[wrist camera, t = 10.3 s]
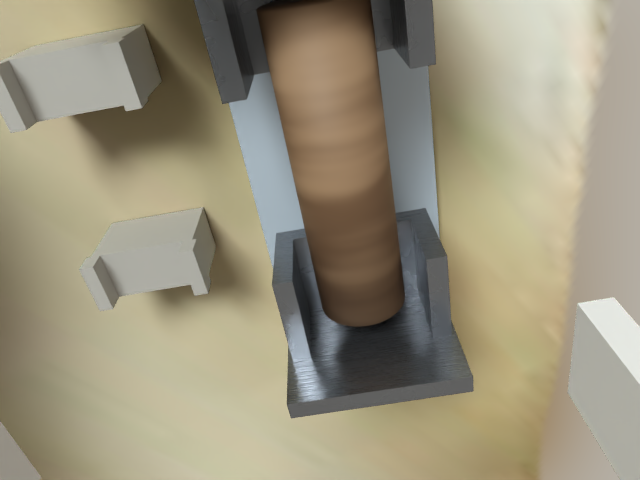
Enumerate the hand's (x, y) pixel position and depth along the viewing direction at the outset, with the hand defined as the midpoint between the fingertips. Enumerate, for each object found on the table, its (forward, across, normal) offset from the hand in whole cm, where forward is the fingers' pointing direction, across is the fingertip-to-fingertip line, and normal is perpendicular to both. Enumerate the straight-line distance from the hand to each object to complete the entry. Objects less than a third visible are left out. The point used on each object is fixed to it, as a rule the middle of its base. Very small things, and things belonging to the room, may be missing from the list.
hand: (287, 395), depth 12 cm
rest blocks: (+22, -10, -1) cm, 24 cm away
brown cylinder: (+16, +2, -1) cm, 17 cm away
